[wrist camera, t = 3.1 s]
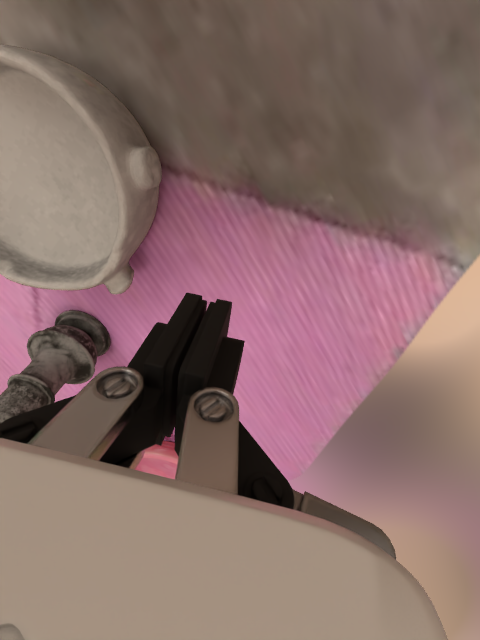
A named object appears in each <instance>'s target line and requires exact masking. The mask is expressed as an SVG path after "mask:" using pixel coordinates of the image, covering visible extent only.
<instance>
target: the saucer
mask: <svg viewBox="0 0 480 640" xmlns="http://www.w3.org/2000/svg"><path fill="white" fill-rule="evenodd" d="M174 447H175V443H173V442H168V441H163V442H162V445H161V446H160V445H156V444H155V445H154V446H151V447H149V448H147V449H145V453H144V455H143V458H142V460H141V461H140V463H139V464H138V466H137V467H136V469H135V470H138V471H142V472H146V473H150V474H154V475H158V476H162V477H166V478H170V479H174V480H175V475H176V469H177V464H178V458H179V457H178V455H177V453H176V452H175V450H174Z"/></svg>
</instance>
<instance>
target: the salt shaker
mask: <svg viewBox="0 0 480 640" xmlns="http://www.w3.org/2000/svg"><path fill="white" fill-rule="evenodd" d="M109 346H110V337H109V333H108V332H107V330H106V328H105V327H104V326H103V325H102V323H101V322H100V321H98V320H97V319H96V318H94V317H93V316H91V315H89V314H87V313H85V312H81V311H76V310H69V311H65V312H63V313H61V314H60V315H59V316H58V317H57V319H56V321H55V326H53V327H50V328H47V329H45V330H43V331H38V332H36V333H34V334H32V335H31V337H30V338H29V339H28V343H27V349H28V354H29V356H30V358H31V360H32V361H31V363H30V364H29V365H28V366H27V367H26V368H25V369H24V370H23V371H22V372H21V373H20V374H15V375H13V376H11V377H10V378H9V380H8V388H7V389H6V390H5V391H4V392H3V393H2V394H1V395H0V422H3V421H5V420H7V419H9V418H11V417H13V416H16V415H19V414H22V413H25V412H28V411H31V410H34V409H37V408H40V407H43V406H46V405H49V404H52V403H54V401H55V395H56V393H57V392H58V391H59V390H60V388H61V387H62V386H63V385H64V384H65V383H67V384H81V383H84V382H87V381H88V380H89V379H91V378H92V376H93V374H94V372H95V365H96V361H97V356H100V355H103V354H104V353H105V352H106V351H107V350H108V349H109Z"/></svg>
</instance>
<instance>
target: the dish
mask: <svg viewBox="0 0 480 640" xmlns="http://www.w3.org/2000/svg"><path fill="white" fill-rule="evenodd" d="M161 178H162V171H161V164H160V160H159V157H158V155H157V152H156V151H155V150H154V149H153V148H152V147H151V146H150V144H149V142H148V140H147V138H146V136H145V134H144V132H143V130H142V129H141V127H140V125H139V124H138V122H137V121H136V119H135V118H134V117H133V115H132V114H131V113H130V112H129V110H128V109H127V108H126V107H125V105H124V104H123V103H122V102H121V101H120V100H119V99H117V98H116V97H115V96H114V95H113V94H112V93H111V92H110V91H109V90H108V89H107V88H106V87H104V86H103V85H102V84H101V83H99V82H98V81H97V80H95V79H94V78H93V77H91V76H89V75H88V74H86V73H84V72H83V71H81V70H79V69H77V68H76V67H74V66H72V65H70V64H68V63H66V62H63V61H61V60H59V59H57V58H54V57H52V56H49V55H46V54H43V53H39V52H36V51H32V50H29V49H24V48H20V47H15V46H9V45H1V44H0V274H1V275H3V276H4V277H5V278H7V279H9V280H11V281H14V282H16V283H19V284H22V285H26V286H31V287H36V288H42V289H51V290H82V289H88V288H92V287H95V286H97V285H100V284H104V285H106V287H107V288H108V290H109V292H110V293H111V294H121V293H123V292H125V291H126V290H127V289H128V288H129V287H130V285H131V283H132V280H133V276H134V270H133V269H132V267H131V266H130V265H129V259H130V258H131V257H132V255H133V254H134V253H135V251H136V250H137V248H138V247H139V246H140V244H141V243H142V241H143V240H144V238H145V237H146V235H147V233H148V231H149V229H150V227H151V225H152V222H153V220H154V216H155V213H156V209H157V204H158V196H159V184H160V182H161Z"/></svg>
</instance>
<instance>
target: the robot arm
mask: <svg viewBox="0 0 480 640" xmlns="http://www.w3.org/2000/svg"><path fill="white" fill-rule="evenodd" d="M206 307H207V301H205V300H202V296H201V295H196V294H191V293H186V294H185V296H184V298H183V299H182V301H181V303H180V304H179V306H178V308H177V309H176V311H175V312H174V314H173V316H172V317H171V319H170V321H169V322H168V324H164V323H160V322H158V323H156V324H155V326H154V327H153V329H152V330H151V332H150V333H149V335H148V336H147V338H146V339H145V341H144V342H143V344H142V345H141V347H140V348H139V350H138V351H137V353H136V354H135V356H134V357H133V359H132V360H131V362H130V363H129V365H128V366H127V367H113V368H108V369H106V370H104V371H102V372H100V373H99V374H98V375H96V376H95V377H94V378H93V379H92V380H91V381H90V382H89V383H88V384H87V385H86V386H85V387H84V388H83V389H82V390H81V391H80V392H79V393H78V394H77V395H76V396H73V397H70V398H67V399H64V400H61V401H58V402H55V403H52V404H49V405H46V406H43V407H40V408H37V409H34V410H31V411H28V412H25V413H22V414H19V415H16V416H13V417H11V418H9V419H7V420H5V421H3V422H0V640H448V639H447V636H446V633H445V631H444V628H443V625H442V623H441V621H440V618H439V616H438V614H437V612H436V610H435V608H434V605H433V604H432V601H431V600H430V598H429V597H428V595H427V593H426V592H425V590H424V589H423V587H422V586H421V585H420V583H419V582H418V581H417V580H416V579H415V578H414V577H413V576H412V574H411V573H410V572H409V571H408V570H407V569H406V568H404V567H403V566H402V565H401V564H400V563H399V562H397V561H396V555H395V549H394V547H393V545H392V543H391V541H390V539H389V538H388V537H387V536H386V534H385V533H384V532H383V531H382V530H381V529H380V528H378V527H376V526H375V525H374V524H372V523H370V522H368V521H366V520H364V519H362V518H360V517H358V516H356V515H353V514H351V513H349V512H347V511H345V510H343V509H341V508H339V507H337V506H334V505H333V504H331V503H328V502H326V501H324V500H322V499H320V498H318V497H316V496H314V495H312V494H310V493H308V492H304V495H303V494H301V493H299V492H297V491H295V490H293V489H292V488H291V486H290V484H289V483H288V481H287V480H286V478H285V477H284V476H283V475H282V473H281V472H280V471H279V470H278V468H277V467H276V466H275V465H274V463H273V462H272V461H271V460H270V458H269V457H268V456H267V455H266V453H265V452H264V451H263V450H262V449H261V447H260V446H259V445H258V444H257V442H256V441H255V440H254V439H253V437H252V436H251V435H250V434H249V432H248V431H247V430H246V429H245V427H244V426H243V425H242V424H241V422H240V421H239V405H238V401H237V400H236V398H235V397H234V396H233V392H234V388H235V384H236V380H237V376H238V371H239V367H240V362H241V357H242V352H243V347H244V341H242V340H238V339H233V338H229V337H227V334H228V327H229V321H230V315H231V308H232V302H229V301H224V300H220V299H217V301H216V303H215V302H210V304H209V306H208V309H207V311H206ZM174 427H175V447H174V450H175V452H176V453H177V455H178V457H179V458H178V464H177V469H176V475H175V480H174V479H170V478H166V477H162V476H158V475H154V474H150V473H146V472H142V471H138V470H135V469H136V467H137V466H138V464H139V463H140V461H141V460H142V458H143V455H144V453H145V449H147V448H149V447H151V446H154V445H155V444H156V445H160V446H161V445H162V442H163V440H164V438H165V436H167V437H171V435H172V432H173V430H174Z"/></svg>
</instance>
